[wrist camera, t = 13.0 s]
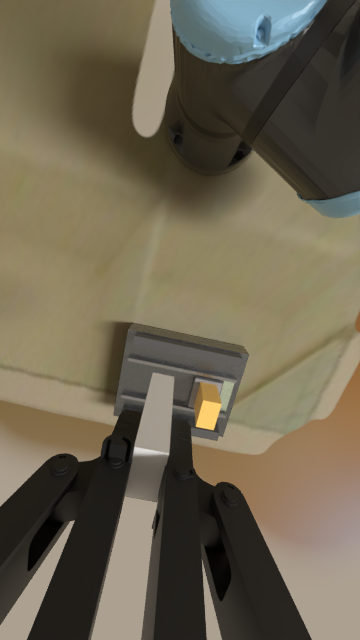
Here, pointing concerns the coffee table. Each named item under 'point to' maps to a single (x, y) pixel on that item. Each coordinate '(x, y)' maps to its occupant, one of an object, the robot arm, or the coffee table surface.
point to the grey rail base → (176, 374)
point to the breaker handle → (205, 401)
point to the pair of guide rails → (191, 352)
